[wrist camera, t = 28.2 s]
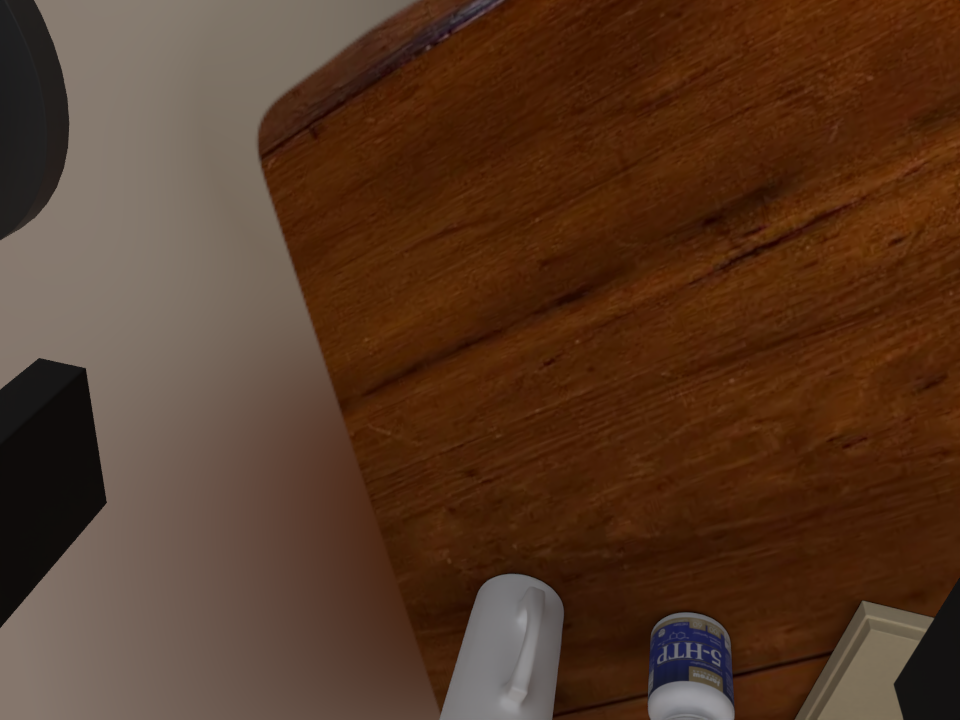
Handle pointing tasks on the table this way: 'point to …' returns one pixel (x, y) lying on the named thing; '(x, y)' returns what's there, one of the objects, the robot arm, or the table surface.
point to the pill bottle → (690, 669)
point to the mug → (508, 653)
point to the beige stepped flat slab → (866, 666)
